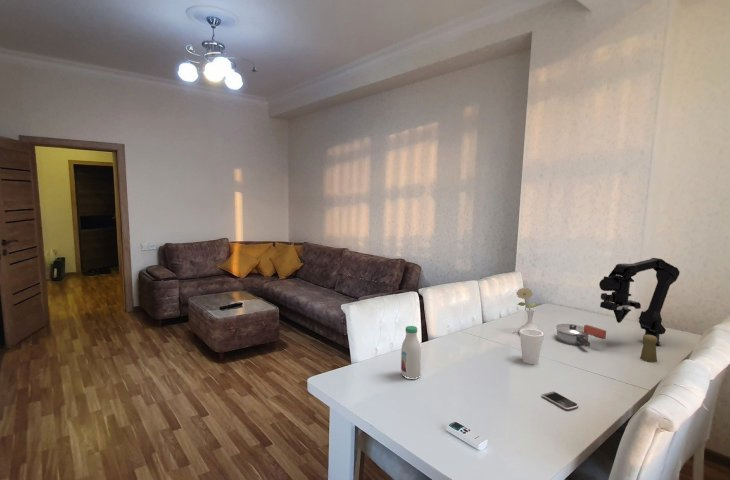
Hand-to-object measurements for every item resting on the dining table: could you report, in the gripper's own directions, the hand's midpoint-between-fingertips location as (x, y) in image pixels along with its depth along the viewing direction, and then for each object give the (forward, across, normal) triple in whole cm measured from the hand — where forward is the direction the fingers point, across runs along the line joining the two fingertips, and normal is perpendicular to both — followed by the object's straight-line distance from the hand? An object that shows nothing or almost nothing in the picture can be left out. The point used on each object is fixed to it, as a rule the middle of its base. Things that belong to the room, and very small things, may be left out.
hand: (618, 322), depth 183 cm
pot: (+12, +16, -9) cm, 22 cm away
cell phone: (+14, +65, +35) cm, 75 cm away
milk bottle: (+16, +108, +3) cm, 109 cm away
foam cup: (+14, +52, +4) cm, 54 cm away
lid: (+7, +14, -8) cm, 17 cm away
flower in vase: (+13, +30, -25) cm, 42 cm away
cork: (+12, 0, +16) cm, 20 cm away
